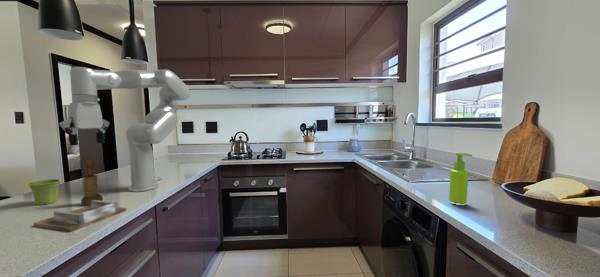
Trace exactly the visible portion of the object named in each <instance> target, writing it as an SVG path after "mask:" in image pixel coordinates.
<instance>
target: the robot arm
mask: <svg viewBox="0 0 600 277" xmlns="http://www.w3.org/2000/svg"><path fill="white" fill-rule="evenodd" d="M69 75H70V77H69V78H70V92H71V102H69V105H68V110H67V119H65V120H62V121H61V122H59V126H60V127H61V129H62V131H64V132H65V133H66V135H68V141H69V142H68V143H69V145H70V146H78V145H79V139H78V134H77V133H78V131H79V130H94V131H95V132H96V133H95V134H96V143H98V144H105V134H106V131H107V130H108V128H109V125H110V122H109V121H108V120H106V119H103V114H102V109H101V106H100V104H99V103H98V102H100V101H101V99H100V98H99V97H98V90H99V91H100V90H113V89H114V90H115V89H116V90H118V89H121V90H123V89H124V90H125V89H127V90H130V89H133V90H134V89H149V88H151V89H152V88H160V89H159V92H158V93H159V104H158V105H157V106H156V107H155V108H153V109H152V110H151V111H150V112H149V113H148V114H147V115H146V116H144V117H145V118H144V120H143V121H144V122H143V123H134V124H131V125H129V127H128V128H127V129H126V132H125V135H126V136H125V137H126V140H127V144H128V151H129V163H130V164H129V165H130V177H131V178H130V179H131V183H130V184H131V185H129V186H127V190H128V192H136V193H137V192H146V191H150V190H151V191H152V190H154V189H156V188H158V187H159V184H158V183H157V182H159V181H162V180H163V178H162V176H157V177H156V176H155V165H154V151H153V147H152V144H153V145H155V144H160V143H161V142H163V141H164V140H165V139H166V138H167V137H168V136H169V135H170V134H171V133H172V132H173V131H174V130H175V129H176V127H177V126H178V122H179V118H178V115H177V114H176V113H175V112H176V108H175V103H174V101H175V102H176V101H177V102H178V101H186V100H187V99H190V98H189V97H190V95H191V91H190V88H189V87H188V85H187V84H186V83H185V82H184V81H183V80H181V78H180V77H178V75H177V74H175V72H173V71H171V70H170V69H150V70H149V69H145V70H144V69H128V70H121V71H120V70H119V71H113V70H112V71H111V70H105V69H103V70H102V69H93V68H90V67H85V66H73V67H71V68H70V70H69Z"/></svg>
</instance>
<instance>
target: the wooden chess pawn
mask: <svg viewBox="0 0 600 277" xmlns="http://www.w3.org/2000/svg"><path fill="white" fill-rule="evenodd" d="M84 165H85V166H86V168H87V170H86V171H85V172H86V174H87V175H86V176H84V177H83V179H84V181H83V182H84V197H82V198H81V200H80V206H82V207H87V206H90V205H91V201H93V200H99V201H104V200H103V196H102V195H101V194H99V193H98V191H99V190H98V175H95V174H94V172H95V170H94V169H93V167H94V165H95V160H94V159H93V158H87V159H85V160H84Z"/></svg>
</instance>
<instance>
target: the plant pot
mask: <svg viewBox="0 0 600 277" xmlns="http://www.w3.org/2000/svg"><path fill="white" fill-rule="evenodd" d="M61 181H62V179H59V178H51V179H42V180H37V181H31V182H29V183H27V185H28V186H29V188H30V189H31V193H32V196H33V199H34V202H35V203H34V204H35V205H36V206H43V205H45V204H46V205H47V204H48V205H49V204H54V203H56V202H57V201H58V194H59V186H60V182H61Z"/></svg>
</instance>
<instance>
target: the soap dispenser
mask: <svg viewBox="0 0 600 277" xmlns="http://www.w3.org/2000/svg"><path fill="white" fill-rule="evenodd" d="M455 156H456V157H457V158H456V161H454V165H453V166H454V168H453V169H450V172H449V177H450V178H449V196H448V198H449V199H448V201H449V200H450V201H451V202H454V203H460V204H465V203H467V204H468V185H469V184H468V183H469V182H468V181H469V171H468V170H465V164H466V163H465V161H463V156H468V157H473V155H472V154H469V153H463V152H460V153H459V152H458V153H456V152H455Z"/></svg>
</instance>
